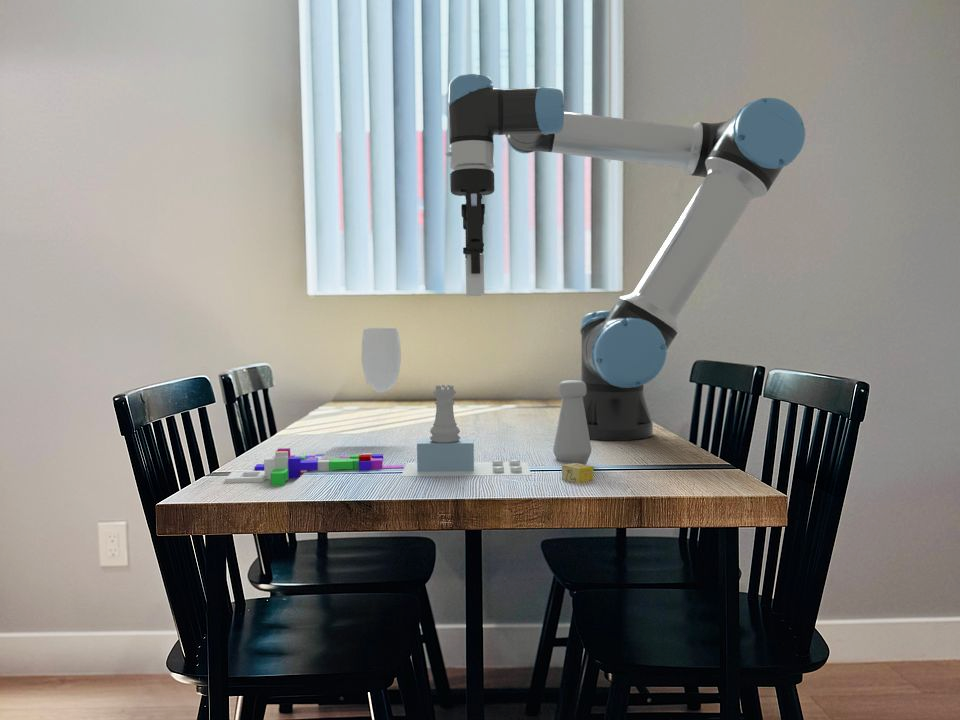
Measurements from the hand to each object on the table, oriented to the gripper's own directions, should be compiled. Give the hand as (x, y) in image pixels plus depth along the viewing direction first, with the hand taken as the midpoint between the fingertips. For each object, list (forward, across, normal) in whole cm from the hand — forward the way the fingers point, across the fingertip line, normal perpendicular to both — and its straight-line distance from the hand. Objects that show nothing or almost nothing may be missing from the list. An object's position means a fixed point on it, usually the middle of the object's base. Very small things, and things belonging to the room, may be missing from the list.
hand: (474, 295), depth 138 cm
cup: (+26, -8, -17) cm, 32 cm away
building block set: (+27, +18, -24) cm, 40 cm away
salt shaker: (+27, +17, +14) cm, 35 cm away
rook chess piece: (+22, +24, -5) cm, 32 cm away
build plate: (+26, +24, -2) cm, 35 cm away
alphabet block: (+27, +32, +12) cm, 44 cm away
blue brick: (+25, +24, -5) cm, 35 cm away
